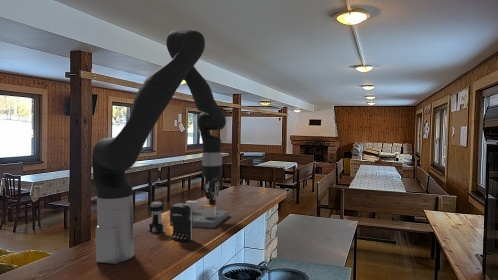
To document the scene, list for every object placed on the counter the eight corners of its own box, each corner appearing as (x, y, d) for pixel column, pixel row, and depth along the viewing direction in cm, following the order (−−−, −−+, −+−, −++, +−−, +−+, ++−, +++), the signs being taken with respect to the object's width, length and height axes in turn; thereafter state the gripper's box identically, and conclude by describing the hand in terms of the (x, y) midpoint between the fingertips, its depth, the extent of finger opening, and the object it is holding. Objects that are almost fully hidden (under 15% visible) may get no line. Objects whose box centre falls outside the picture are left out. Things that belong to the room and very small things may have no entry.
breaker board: (213, 228, 127) (213, 210, 127) (169, 225, 131) (169, 207, 131) (228, 215, 144) (228, 199, 144) (189, 213, 148) (189, 198, 148)
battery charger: (168, 240, 113) (167, 204, 113) (175, 237, 117) (175, 202, 116) (186, 243, 110) (185, 206, 110) (193, 239, 114) (193, 204, 113)
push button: (142, 232, 123) (141, 203, 122) (153, 228, 128) (152, 200, 127) (157, 234, 120) (156, 205, 119) (167, 230, 124) (167, 202, 124)
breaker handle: (214, 217, 132) (213, 206, 131) (203, 217, 133) (203, 206, 132) (216, 216, 134) (216, 205, 134) (206, 215, 135) (206, 204, 135)
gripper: (215, 166, 128) (216, 213, 129) (226, 162, 141) (227, 205, 142) (196, 165, 130) (196, 212, 131) (208, 162, 143) (209, 205, 144)
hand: (212, 209), depth 136 cm, fingers closed
